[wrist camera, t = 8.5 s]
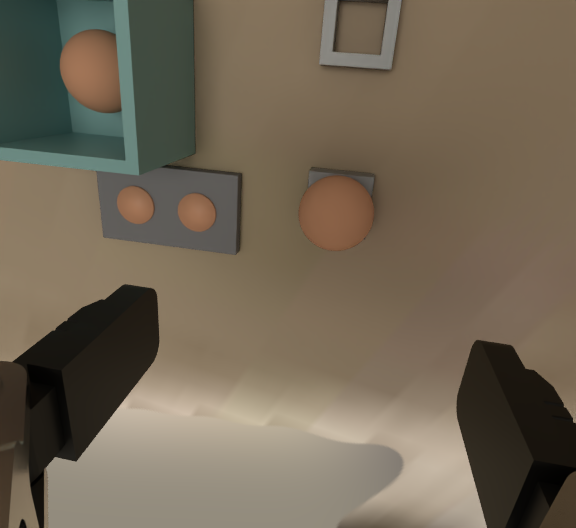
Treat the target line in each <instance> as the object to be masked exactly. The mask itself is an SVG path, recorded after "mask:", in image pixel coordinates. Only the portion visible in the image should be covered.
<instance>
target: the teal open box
mask: <svg viewBox="0 0 576 528" xmlns="http://www.w3.org/2000/svg"><path fill="white" fill-rule="evenodd" d="M90 29H100V30H105V31H109V32H111V33H114V34H116V43H117V56H118V69H119V81H120V94H121V107H122V111H120V112H117V113H100V112H96V111H93V110H91V109H89V108H87V107H85V106H83V105H82V104H80V103H79V102H78V101H77V100H76V99H75V98H74V97H73V96H72V95H71V94H70V93H69V91H68V90H67V88H66V86H65V84H64V82H63V79H62V76H61V72H60V57H61V53H62V50H63V48H64V46H65V44H66V43H67V42H68V40H69V39H70V38H71V37H73V36H74V35H76V34H77V33H79V32H82V31H84V30H90ZM193 154H195V97H194V24H193V0H0V160H5V161H14V162H23V163H32V164H41V165H50V166H59V167H68V168H77V169H86V170H95V171H103V172H112V173H121V174H130V175H142V174H144V173H147V172H149V171H152V170H154V169H157V168H159V167H162V166H165V165H167V164H170V163H172V162H175V161H177V160H180V159H182V158H185V157H188V156H190V155H193Z"/></svg>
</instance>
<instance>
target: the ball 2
mask: <svg viewBox="0 0 576 528" xmlns="http://www.w3.org/2000/svg"><path fill="white" fill-rule="evenodd" d="M373 219H374V206H373V202H372V199H371V197H370V195H369V193H368V191H367V190H366V189H365V188H364V186H363V185H361V184H360V183H359V182H357V181H356V180H354V179H352V178H349V177H346V176H339V175H334V176H328V177H324V178H322V179H320V180H318V181H316V182H315V183H313V184H312V185H311V186H310V187H309V188H308V189H307V191H306V192H305V193H304V195H303V197H302V199H301V202H300V206H299V221H300V225H301V228H302V230H303V232H304V234H305V235H306V236H307V238H308V239H309V240H310V241H311V242H312V243H314V244H315V245H317V246H318V247H320V248H323V249H326V250H331V251H341V250H346V249H349V248H351V247H354V246H355V245H357V244H358V243H360V242H361V241H362V240H363V239H364V238H365V237H366V235H367V234H368V233H369V231H370V229H371V226H372V224H373Z"/></svg>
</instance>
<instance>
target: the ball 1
mask: <svg viewBox="0 0 576 528" xmlns="http://www.w3.org/2000/svg"><path fill="white" fill-rule="evenodd" d="M60 72H61V76H62V79H63V82H64V84H65V86H66V88H67V90H68V91H69V93H70V94H71V95H72V96H73V97H74V98H75V99H76V100H77V101H78V102H79V103H80V104H82V105H83V106H85V107H87V108H89V109H91V110H93V111H96V112H100V113H117V112H120V111H122V107H121V94H120V81H119V69H118V56H117V43H116V34H114V33H111V32H109V31H105V30H100V29H90V30H84V31H82V32H79V33H77V34H76V35H74V36H73V37H71V38H70V39H69V40H68V42H67V43H66V44H65V46H64V48H63V50H62V53H61V57H60Z"/></svg>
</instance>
